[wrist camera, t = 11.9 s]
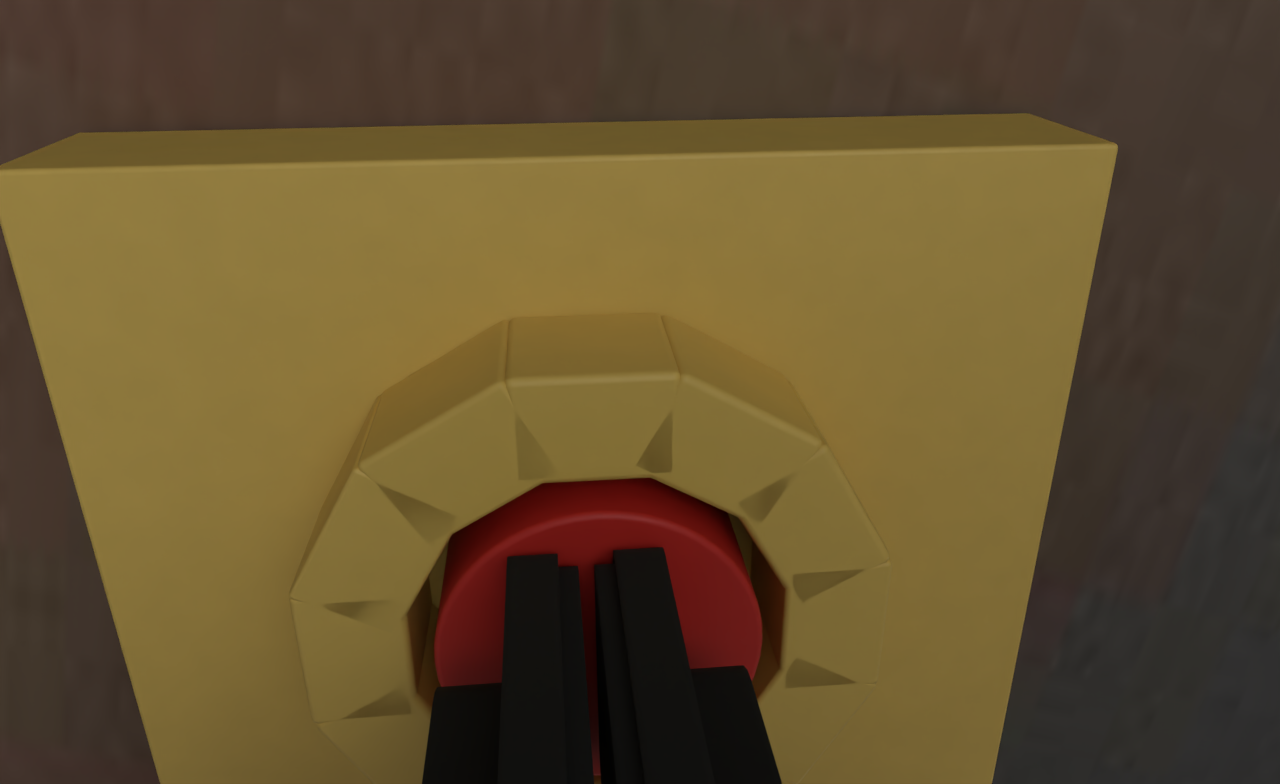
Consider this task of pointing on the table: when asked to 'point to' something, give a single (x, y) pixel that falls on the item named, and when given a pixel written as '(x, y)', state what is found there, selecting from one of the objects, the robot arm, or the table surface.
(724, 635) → the button
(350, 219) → the switch block
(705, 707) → the robot arm
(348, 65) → the table surface
